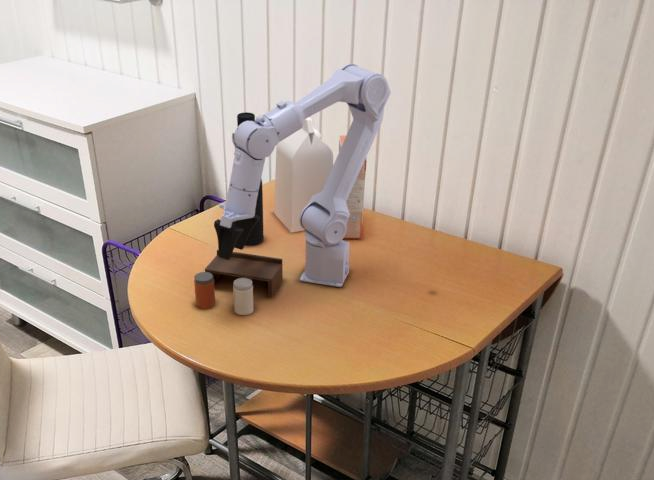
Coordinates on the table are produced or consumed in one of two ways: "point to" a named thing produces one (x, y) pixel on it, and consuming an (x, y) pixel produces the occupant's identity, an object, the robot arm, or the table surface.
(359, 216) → the cracker box
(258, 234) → the black water bottle
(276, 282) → the shelf
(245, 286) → the salt shaker
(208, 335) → the table surface
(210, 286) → the pepper shaker
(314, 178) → the milk
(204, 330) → the table surface
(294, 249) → the table surface
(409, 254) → the table surface
